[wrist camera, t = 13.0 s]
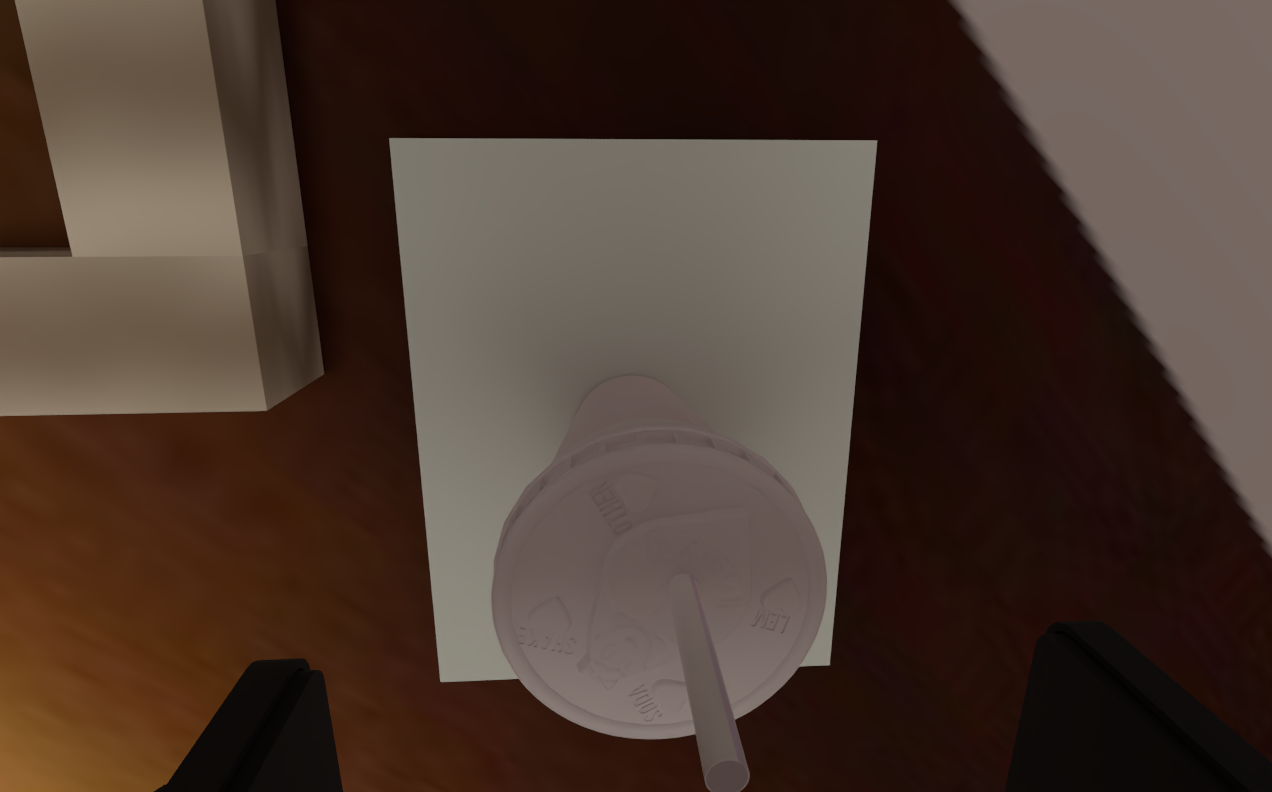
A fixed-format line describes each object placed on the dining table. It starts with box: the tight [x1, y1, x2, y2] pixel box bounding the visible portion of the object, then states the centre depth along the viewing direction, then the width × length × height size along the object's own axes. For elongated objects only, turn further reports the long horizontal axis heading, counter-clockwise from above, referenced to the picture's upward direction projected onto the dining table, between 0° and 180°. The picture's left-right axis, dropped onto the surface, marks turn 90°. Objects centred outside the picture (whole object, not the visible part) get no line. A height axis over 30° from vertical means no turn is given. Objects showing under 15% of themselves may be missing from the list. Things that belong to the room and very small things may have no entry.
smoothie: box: [491, 375, 827, 792], centre depth 15 cm, size 6×6×14 cm
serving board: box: [389, 138, 877, 682], centre depth 22 cm, size 18×14×1 cm
